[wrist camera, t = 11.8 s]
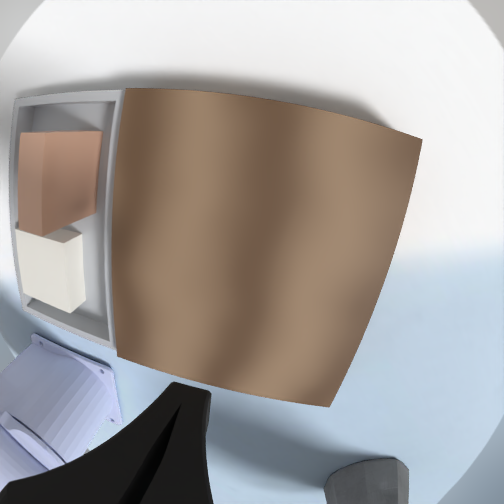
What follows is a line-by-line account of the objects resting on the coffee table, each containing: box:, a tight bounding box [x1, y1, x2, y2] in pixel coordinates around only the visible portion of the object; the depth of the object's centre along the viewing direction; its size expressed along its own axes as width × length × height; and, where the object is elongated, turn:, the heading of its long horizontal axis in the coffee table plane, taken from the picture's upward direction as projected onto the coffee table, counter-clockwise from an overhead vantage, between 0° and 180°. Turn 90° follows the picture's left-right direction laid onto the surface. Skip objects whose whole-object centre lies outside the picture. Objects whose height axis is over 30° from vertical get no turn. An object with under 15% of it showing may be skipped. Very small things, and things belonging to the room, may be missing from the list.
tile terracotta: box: [18, 130, 103, 237], centre depth 14 cm, size 5×5×2 cm
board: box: [111, 88, 423, 407], centre depth 16 cm, size 14×16×2 cm
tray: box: [9, 90, 125, 351], centre depth 17 cm, size 10×16×2 cm, turn 170°
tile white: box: [15, 228, 86, 313], centre depth 18 cm, size 5×5×2 cm
